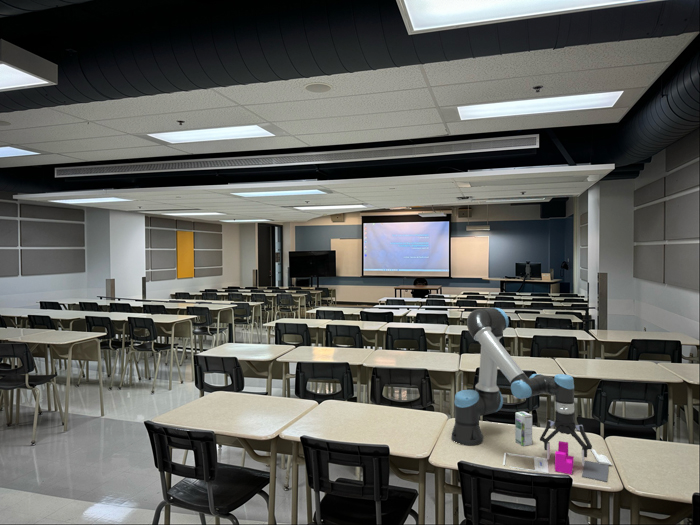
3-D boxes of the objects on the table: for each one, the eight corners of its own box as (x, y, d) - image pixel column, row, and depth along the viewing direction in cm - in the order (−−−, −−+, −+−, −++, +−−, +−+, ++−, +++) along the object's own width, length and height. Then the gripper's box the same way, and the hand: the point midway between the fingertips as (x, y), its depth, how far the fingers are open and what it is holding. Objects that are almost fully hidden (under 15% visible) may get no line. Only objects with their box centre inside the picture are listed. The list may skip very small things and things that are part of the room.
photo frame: (548, 472, 192) (502, 465, 198) (548, 474, 192) (502, 468, 198) (547, 457, 205) (504, 452, 212) (547, 460, 205) (504, 454, 212)
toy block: (571, 474, 190) (571, 456, 190) (555, 471, 194) (555, 453, 194) (574, 460, 203) (574, 443, 203) (559, 457, 207) (559, 440, 207)
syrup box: (514, 442, 225) (514, 412, 225) (524, 440, 227) (524, 410, 227) (522, 446, 220) (522, 416, 220) (532, 444, 222) (532, 414, 222)
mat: (581, 476, 188) (581, 476, 188) (585, 461, 203) (585, 460, 203) (607, 482, 184) (607, 481, 184) (608, 465, 198) (608, 464, 198)
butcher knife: (603, 452, 212) (603, 449, 212) (612, 465, 198) (612, 463, 198) (591, 450, 213) (591, 448, 213) (599, 463, 199) (599, 461, 199)
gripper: (532, 409, 202) (533, 458, 202) (597, 418, 189) (598, 470, 189) (535, 405, 208) (536, 452, 208) (598, 413, 195) (599, 463, 195)
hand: (565, 461), depth 198 cm, fingers open, 13 cm apart
